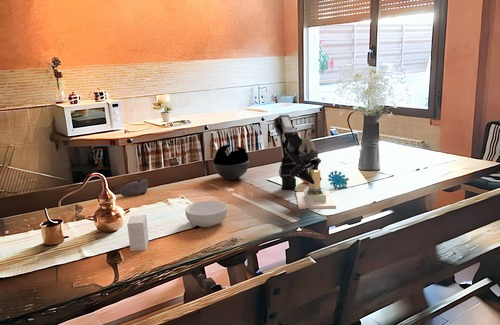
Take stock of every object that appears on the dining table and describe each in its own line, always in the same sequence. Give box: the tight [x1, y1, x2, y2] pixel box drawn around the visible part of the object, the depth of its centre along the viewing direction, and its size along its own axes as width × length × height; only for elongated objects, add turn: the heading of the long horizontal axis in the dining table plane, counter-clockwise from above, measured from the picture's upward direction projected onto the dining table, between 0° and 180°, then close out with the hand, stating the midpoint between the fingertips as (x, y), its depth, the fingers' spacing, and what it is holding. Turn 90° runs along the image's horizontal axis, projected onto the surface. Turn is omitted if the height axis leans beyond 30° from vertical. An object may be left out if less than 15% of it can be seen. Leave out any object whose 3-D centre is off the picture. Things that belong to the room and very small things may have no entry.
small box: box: [126, 214, 150, 252], centre depth 156 cm, size 8×6×10 cm
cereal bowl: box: [184, 200, 228, 228], centre depth 175 cm, size 17×17×7 cm
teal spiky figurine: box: [327, 170, 350, 190], centre depth 216 cm, size 11×6×10 cm
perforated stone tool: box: [119, 178, 149, 197], centre depth 217 cm, size 15×5×7 cm, turn 117°
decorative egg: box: [300, 137, 316, 154], centre depth 265 cm, size 12×12×15 cm
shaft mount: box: [295, 186, 337, 210], centre depth 196 cm, size 16×23×4 cm
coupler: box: [308, 169, 322, 195], centre depth 195 cm, size 6×6×13 cm
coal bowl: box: [212, 144, 250, 180], centre depth 235 cm, size 20×20×19 cm
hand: (317, 182), depth 194 cm, fingers open, 6 cm apart
